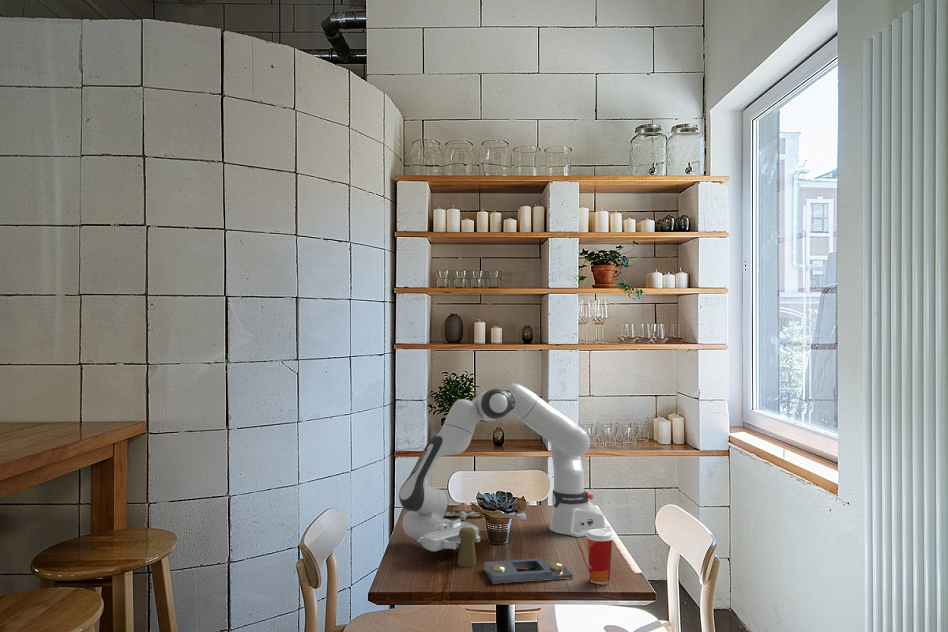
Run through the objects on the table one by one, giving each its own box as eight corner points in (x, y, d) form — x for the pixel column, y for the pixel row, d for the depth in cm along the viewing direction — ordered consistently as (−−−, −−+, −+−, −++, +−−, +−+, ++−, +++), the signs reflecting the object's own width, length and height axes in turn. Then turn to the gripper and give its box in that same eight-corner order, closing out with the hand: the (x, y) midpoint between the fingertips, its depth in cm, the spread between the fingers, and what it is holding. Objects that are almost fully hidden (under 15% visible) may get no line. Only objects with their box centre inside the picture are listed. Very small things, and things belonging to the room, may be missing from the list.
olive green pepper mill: (470, 568, 190) (470, 532, 190) (453, 564, 193) (453, 528, 193) (480, 562, 195) (480, 527, 195) (464, 559, 198) (464, 524, 198)
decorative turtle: (438, 522, 239) (439, 509, 239) (441, 510, 256) (441, 498, 256) (486, 523, 239) (486, 509, 239) (485, 511, 256) (485, 498, 256)
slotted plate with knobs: (559, 564, 193) (559, 555, 194) (572, 578, 182) (572, 569, 182) (484, 570, 188) (484, 560, 189) (493, 584, 177) (493, 574, 177)
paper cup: (596, 574, 186) (596, 526, 187) (618, 581, 180) (618, 532, 181) (580, 581, 180) (580, 532, 181) (603, 588, 175) (603, 538, 176)
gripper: (414, 529, 197) (442, 539, 187) (461, 517, 211) (490, 526, 201) (413, 549, 197) (442, 561, 187) (461, 536, 211) (490, 546, 201)
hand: (467, 542), depth 194 cm, fingers open, 8 cm apart
